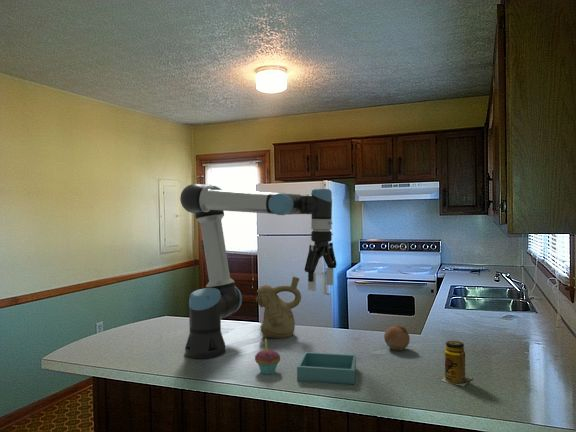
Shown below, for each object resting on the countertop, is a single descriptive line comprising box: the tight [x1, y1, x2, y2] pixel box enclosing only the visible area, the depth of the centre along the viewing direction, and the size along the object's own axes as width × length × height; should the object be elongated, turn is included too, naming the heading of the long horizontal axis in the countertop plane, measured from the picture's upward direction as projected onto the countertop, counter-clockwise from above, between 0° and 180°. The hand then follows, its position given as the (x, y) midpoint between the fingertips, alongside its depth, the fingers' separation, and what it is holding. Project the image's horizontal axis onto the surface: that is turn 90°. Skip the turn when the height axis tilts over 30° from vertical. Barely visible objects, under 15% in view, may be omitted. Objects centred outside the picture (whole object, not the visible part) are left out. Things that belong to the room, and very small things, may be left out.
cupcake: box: [254, 336, 281, 375], centre depth 151 cm, size 9×8×12 cm
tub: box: [296, 351, 357, 386], centre depth 148 cm, size 18×15×4 cm
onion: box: [383, 325, 411, 352], centre depth 173 cm, size 10×9×10 cm
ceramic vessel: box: [255, 276, 302, 339], centre depth 194 cm, size 17×20×25 cm
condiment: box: [439, 340, 473, 387], centre depth 142 cm, size 7×8×12 cm
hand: (321, 287), depth 168 cm, fingers open, 13 cm apart
